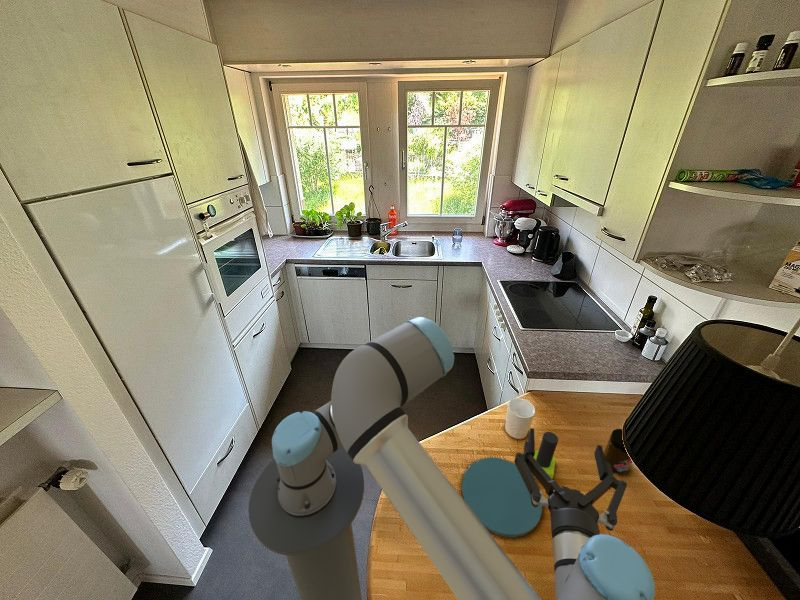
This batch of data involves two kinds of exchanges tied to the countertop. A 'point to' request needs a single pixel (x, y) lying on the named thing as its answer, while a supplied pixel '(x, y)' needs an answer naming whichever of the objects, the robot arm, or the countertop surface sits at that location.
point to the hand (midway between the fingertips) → (563, 440)
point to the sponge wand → (547, 453)
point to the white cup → (519, 417)
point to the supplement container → (617, 453)
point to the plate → (500, 497)
